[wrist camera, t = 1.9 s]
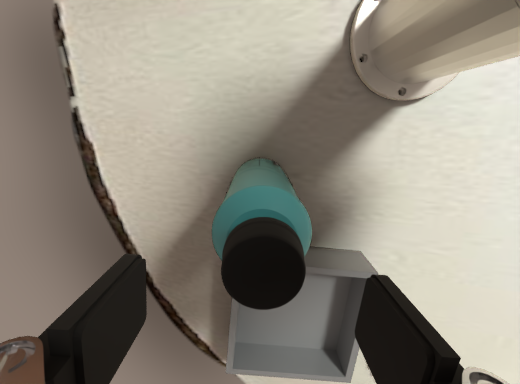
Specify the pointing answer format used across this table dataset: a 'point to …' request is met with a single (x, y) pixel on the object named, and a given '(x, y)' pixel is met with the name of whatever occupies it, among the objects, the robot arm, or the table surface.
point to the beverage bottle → (262, 237)
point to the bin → (305, 323)
